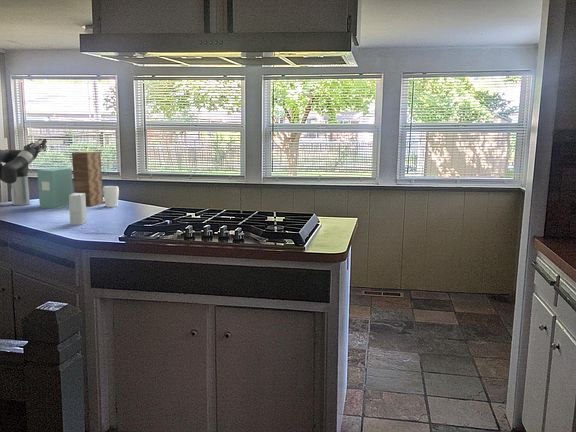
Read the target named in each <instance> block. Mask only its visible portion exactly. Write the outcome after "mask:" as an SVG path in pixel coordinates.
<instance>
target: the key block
mask: <svg viewBox="0 0 576 432" xmlns="http://www.w3.org/2000/svg"><path fill="white" fill-rule="evenodd" d="M36 172H37V185H38V188H37V189H38V201H39V208H42V209H57V208H58V209H59V208H63V207H67V206H69V195H71V194H73V193H74V184H73V169H72V168H71V167H70V168H67V167H66V168H63V167H56V168H45V169H39V170H38V169H37V170H36Z"/></svg>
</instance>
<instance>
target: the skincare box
mask: <svg viewBox="0 0 576 432" xmlns="http://www.w3.org/2000/svg"><path fill="white" fill-rule="evenodd" d="M68 206H69V225H70V226H83V225H84V224H85V223H87V207H86V197H85V193H74V192H73V194H71V195H69V205H68Z"/></svg>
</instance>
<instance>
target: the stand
mask: <svg viewBox="0 0 576 432" xmlns="http://www.w3.org/2000/svg"><path fill="white" fill-rule="evenodd" d="M101 157H102V154H101V151H80V152H79V151H78V152H71V159H72V160H71V161H72V178H73V193H85V197H86V208H87V207H88V208H91V207H96V206H101V205H106V204H105V200H104V194H103V178H102V177H103V175H102V158H101Z"/></svg>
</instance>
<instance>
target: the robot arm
mask: <svg viewBox="0 0 576 432" xmlns="http://www.w3.org/2000/svg"><path fill="white" fill-rule="evenodd" d="M37 141H42V142H41V143H39V144H37V145H36V144H35V142H33V141H32V142H30V143H29V144H26V145H24V146H23V149H0V181H1V182H3V183H5V184H11V189H10V197H11V204H12V205H13V206H25V205H26V206H27V205H30V203H31V202H30V190H29V189H30V188H29V177H28V176H29V175H28V173H29V165H31V164H32V162H34V160H36V159H37V158H38V155H39V153H41V152H42V151H43V152H46V151H47V146H48V145H46V143H47V141H48V140H47V139H46V138H43V140H42V138H39V139H38V140H37Z"/></svg>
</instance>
